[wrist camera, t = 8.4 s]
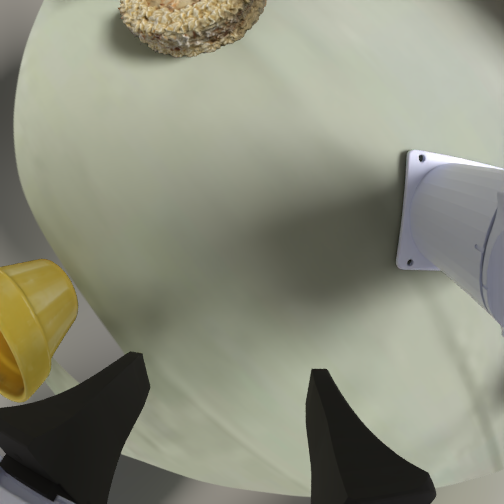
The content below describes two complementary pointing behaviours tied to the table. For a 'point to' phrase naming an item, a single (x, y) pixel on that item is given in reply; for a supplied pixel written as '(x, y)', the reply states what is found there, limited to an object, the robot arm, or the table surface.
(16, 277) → the plant pot
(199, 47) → the cake
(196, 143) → the table surface
